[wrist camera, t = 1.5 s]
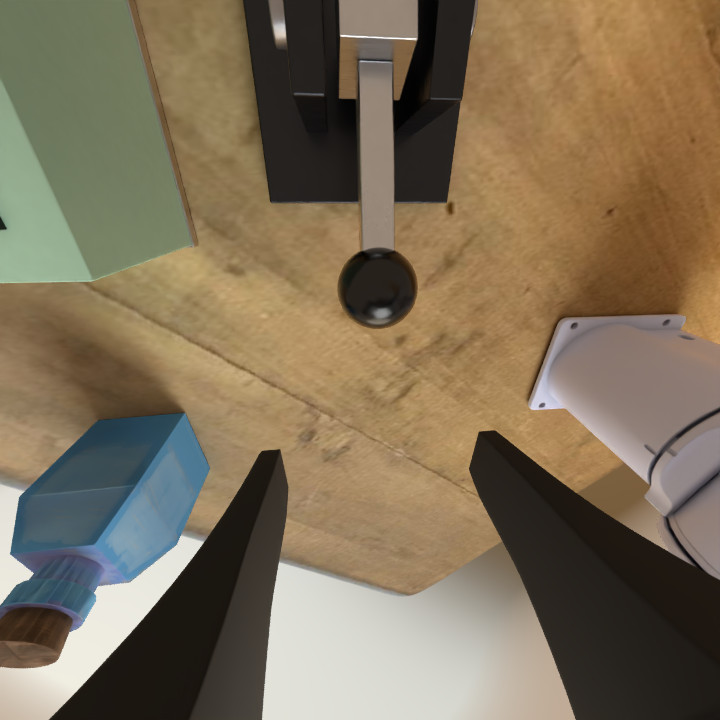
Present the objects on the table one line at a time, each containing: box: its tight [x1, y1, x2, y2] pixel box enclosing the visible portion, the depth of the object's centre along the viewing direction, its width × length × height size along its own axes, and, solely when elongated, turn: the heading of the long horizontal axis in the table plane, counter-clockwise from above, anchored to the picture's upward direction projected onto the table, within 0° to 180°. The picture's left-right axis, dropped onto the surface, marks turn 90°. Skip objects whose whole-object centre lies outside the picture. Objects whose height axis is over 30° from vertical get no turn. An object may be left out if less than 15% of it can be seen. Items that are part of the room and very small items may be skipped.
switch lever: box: [335, 0, 419, 329], centre depth 9 cm, size 11×3×3 cm, turn 1°
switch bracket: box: [243, 0, 478, 203], centre depth 10 cm, size 10×9×7 cm
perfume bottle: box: [0, 413, 210, 668], centre depth 18 cm, size 6×6×12 cm
